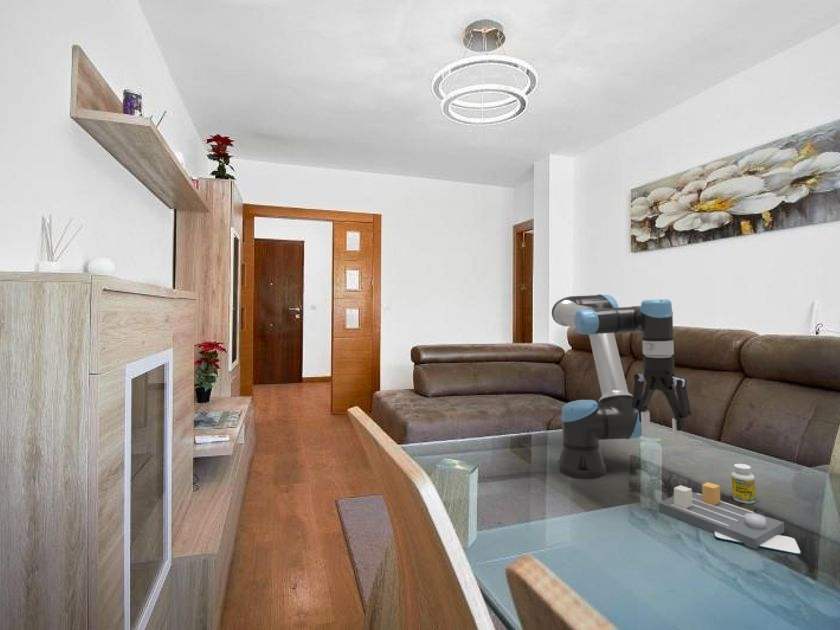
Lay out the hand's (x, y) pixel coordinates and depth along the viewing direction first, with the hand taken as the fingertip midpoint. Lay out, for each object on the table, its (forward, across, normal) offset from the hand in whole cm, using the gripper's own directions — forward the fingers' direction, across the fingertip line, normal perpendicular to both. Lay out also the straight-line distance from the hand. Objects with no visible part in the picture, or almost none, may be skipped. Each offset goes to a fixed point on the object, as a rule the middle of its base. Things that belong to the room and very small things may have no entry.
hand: (661, 438), depth 123 cm
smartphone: (+20, +21, +2) cm, 29 cm away
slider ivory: (+17, +6, 0) cm, 18 cm away
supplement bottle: (+20, +10, +22) cm, 31 cm away
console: (+19, +12, +4) cm, 23 cm away
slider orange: (+17, +8, +7) cm, 20 cm away
